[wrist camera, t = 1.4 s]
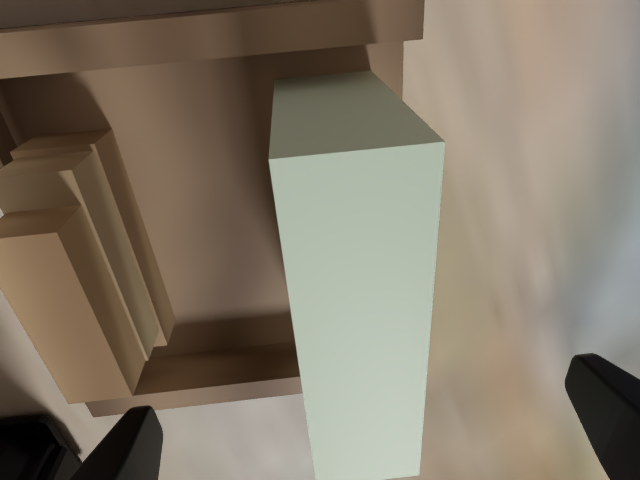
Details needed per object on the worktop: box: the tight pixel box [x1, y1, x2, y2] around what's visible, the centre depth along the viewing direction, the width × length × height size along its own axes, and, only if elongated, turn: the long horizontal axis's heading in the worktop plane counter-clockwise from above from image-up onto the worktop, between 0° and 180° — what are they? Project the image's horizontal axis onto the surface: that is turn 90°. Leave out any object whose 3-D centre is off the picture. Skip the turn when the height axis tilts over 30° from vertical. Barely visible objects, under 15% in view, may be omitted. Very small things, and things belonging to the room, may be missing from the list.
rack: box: [0, 0, 424, 417], centre depth 15 cm, size 13×14×3 cm
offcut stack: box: [0, 129, 176, 404], centre depth 14 cm, size 2×8×4 cm, turn 4°
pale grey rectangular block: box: [269, 70, 445, 480], centre depth 13 cm, size 3×10×7 cm, turn 5°
